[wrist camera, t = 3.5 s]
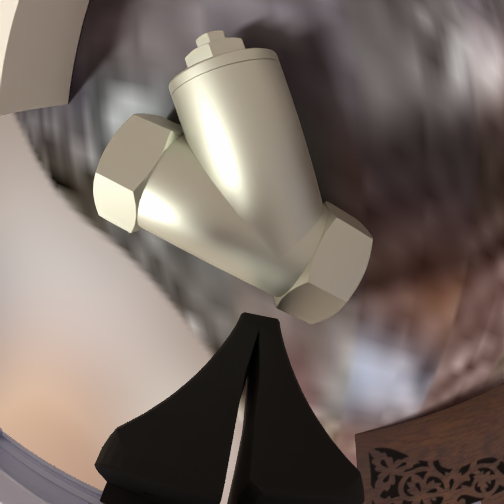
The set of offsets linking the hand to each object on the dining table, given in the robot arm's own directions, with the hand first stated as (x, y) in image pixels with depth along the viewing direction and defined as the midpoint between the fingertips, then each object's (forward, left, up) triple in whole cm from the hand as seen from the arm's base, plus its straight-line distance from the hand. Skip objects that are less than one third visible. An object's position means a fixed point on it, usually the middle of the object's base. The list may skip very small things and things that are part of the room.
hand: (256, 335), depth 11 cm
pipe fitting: (+1, -6, -2) cm, 7 cm away
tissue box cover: (-24, +9, -2) cm, 26 cm away
